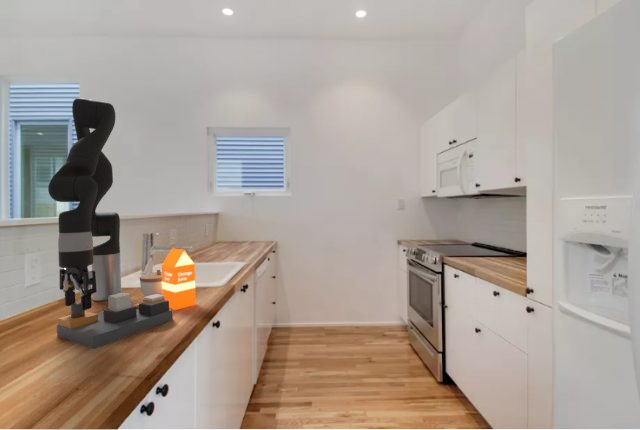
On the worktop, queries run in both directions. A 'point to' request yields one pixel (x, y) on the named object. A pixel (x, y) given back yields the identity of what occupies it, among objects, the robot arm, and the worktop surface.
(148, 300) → the breaker tagged
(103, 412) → the worktop surface
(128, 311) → the breaker panel
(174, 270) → the orange juice
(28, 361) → the worktop surface
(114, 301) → the breaker plain
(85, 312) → the cap
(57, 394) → the worktop surface
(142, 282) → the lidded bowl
